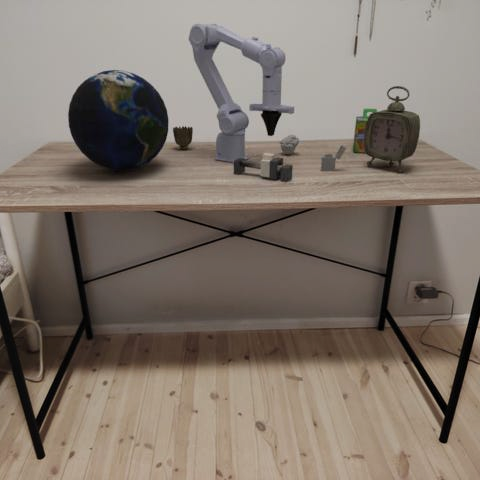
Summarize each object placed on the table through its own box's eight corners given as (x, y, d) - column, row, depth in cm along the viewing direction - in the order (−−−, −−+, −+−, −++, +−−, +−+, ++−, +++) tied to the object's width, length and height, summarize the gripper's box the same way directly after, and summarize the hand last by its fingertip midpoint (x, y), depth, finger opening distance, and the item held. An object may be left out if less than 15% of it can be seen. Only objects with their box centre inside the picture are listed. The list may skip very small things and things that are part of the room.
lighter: (321, 171, 139) (323, 146, 135) (320, 169, 140) (322, 144, 137) (344, 171, 139) (346, 145, 135) (343, 169, 140) (345, 144, 137)
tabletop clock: (360, 166, 143) (370, 85, 132) (374, 160, 149) (384, 83, 138) (403, 175, 134) (417, 89, 123) (415, 168, 140) (429, 86, 129)
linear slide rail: (233, 173, 137) (233, 160, 135) (239, 170, 139) (239, 157, 138) (287, 182, 129) (287, 167, 127) (291, 178, 132) (292, 164, 130)
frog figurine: (298, 156, 154) (299, 137, 151) (278, 156, 155) (279, 136, 152) (298, 152, 160) (299, 133, 157) (279, 152, 161) (280, 132, 158)
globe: (124, 152, 161) (114, 65, 148) (190, 164, 147) (185, 68, 134) (56, 173, 138) (36, 72, 125) (126, 189, 124) (112, 76, 111)
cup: (192, 151, 162) (191, 129, 158) (172, 151, 162) (171, 129, 159) (194, 146, 169) (193, 125, 165) (175, 146, 169) (174, 125, 165)
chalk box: (352, 153, 159) (357, 110, 152) (352, 147, 167) (356, 106, 160) (379, 154, 157) (384, 111, 151) (377, 148, 165) (383, 107, 159)
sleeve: (260, 176, 132) (260, 155, 129) (267, 171, 135) (267, 152, 133) (269, 177, 130) (270, 157, 128) (276, 173, 134) (276, 153, 131)
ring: (269, 178, 130) (269, 161, 128) (276, 173, 134) (277, 157, 132) (275, 179, 129) (275, 162, 127) (282, 174, 134) (283, 157, 131)
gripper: (244, 91, 135) (245, 135, 141) (288, 93, 128) (286, 139, 134) (255, 88, 140) (254, 131, 146) (297, 90, 134) (295, 135, 140)
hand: (270, 135), depth 141 cm, fingers closed
